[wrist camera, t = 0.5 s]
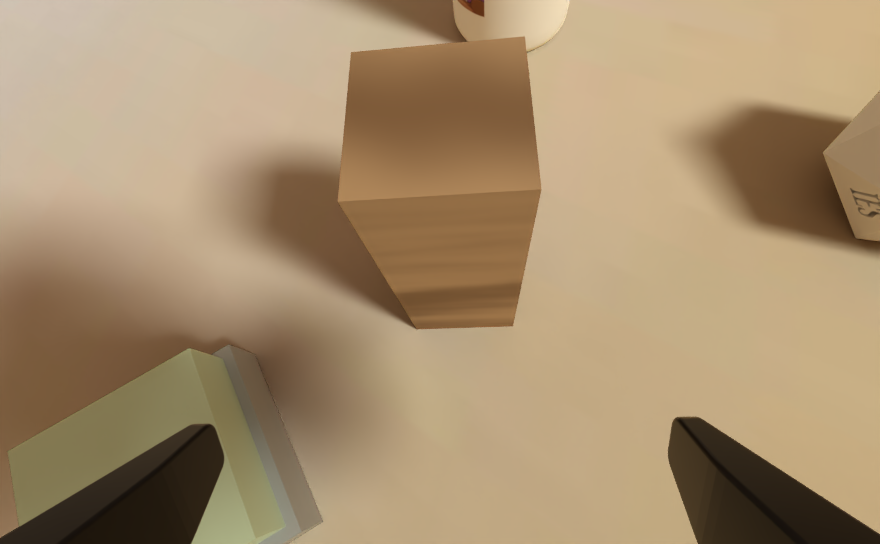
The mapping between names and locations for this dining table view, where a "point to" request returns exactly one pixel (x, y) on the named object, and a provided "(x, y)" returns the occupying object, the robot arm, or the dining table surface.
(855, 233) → the die
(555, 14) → the milk bottle
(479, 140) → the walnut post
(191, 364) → the tower top slab
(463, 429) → the dining table surface
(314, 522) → the tower base slab
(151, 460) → the robot arm
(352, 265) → the dining table surface
